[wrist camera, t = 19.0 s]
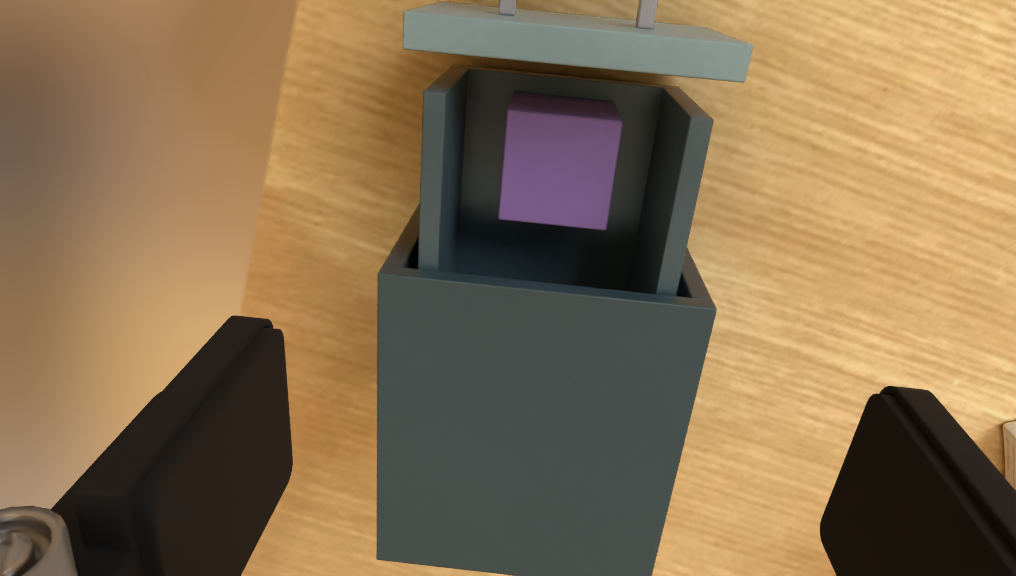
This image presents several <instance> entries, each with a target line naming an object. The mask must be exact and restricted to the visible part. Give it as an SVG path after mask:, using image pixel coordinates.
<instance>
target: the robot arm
mask: <svg viewBox="0 0 1016 576" xmlns="http://www.w3.org/2000/svg"><path fill="white" fill-rule="evenodd" d="M292 465H293V457H292V443H291V430H290V416H289V402H288V388H287V374H286V361H285V347H284V336H283V333H282V331H281V330H280V329H273V325H272V322H271V321H270V320H269V319H263V318H254V317H244V316H231V317H230V318H229V319H228V320H227V321H226V322H225V323H224V324H223V325H222V326H221V327H220V329H219V330H218V331H217V332H216V333H215V334H214V335H213V336H212V337H211V338H210V339H209V341H208V342H207V343H206V344H205V345H204V346H203V347H202V348H201V349H200V350H199V352H198V353H197V354H196V355H195V356H194V357H193V358H192V359H191V360H190V361H189V362H188V364H187V365H186V366H185V367H184V368H183V369H182V370H181V371H180V372H179V374H177V376H176V377H175V378H174V379H173V380H172V381H171V382H170V383H169V384H168V386H167V387H166V388H165V389H164V390H163V391H162V392H160V393H159V394H157V395H156V396H155V397H154V398H153V399H152V400H151V401H150V402H149V403H148V404H147V405H146V406H145V407H144V408H143V410H142V411H141V412H140V413H139V414H138V415H137V416H136V417H135V418H134V419H133V420H132V422H131V423H130V424H129V425H128V426H127V427H126V428H125V429H124V430H123V431H122V432H121V433H120V435H119V436H118V437H117V438H116V439H115V440H114V441H113V442H112V443H111V444H110V446H108V448H107V449H106V450H105V451H104V452H103V453H102V454H101V455H100V456H99V457H98V458H97V460H96V461H95V462H94V463H93V464H92V465H91V466H90V467H89V468H88V469H87V471H86V472H85V473H84V474H83V475H82V476H81V477H80V478H79V479H78V480H77V481H76V482H75V484H74V485H73V486H72V487H71V488H70V489H69V490H68V491H67V492H66V493H65V494H64V495H63V497H62V498H61V499H60V500H59V501H58V502H57V503H56V504H55V505H54V506H53V507H52V509H51V510H50V509H46V508H41V507H35V506H22V507H10V508H5V509H1V510H0V576H241V574H242V572H243V570H244V568H245V566H246V564H247V562H248V560H249V558H250V556H251V554H252V552H253V551H254V549H255V547H256V545H257V543H258V541H259V539H260V537H261V535H262V533H263V531H264V529H265V527H266V525H267V523H268V521H269V519H270V517H271V515H272V514H273V512H274V510H275V508H276V506H277V504H278V502H279V500H280V498H281V496H282V494H283V492H284V490H285V488H286V486H287V484H288V482H289V479H290V476H291V472H292ZM820 536H821V541H822V544H823V546H824V549H825V551H826V553H827V555H828V558H829V560H830V562H831V564H832V566H833V569H834V571H835V573H836V575H837V576H1016V490H1015V489H1014V488H1013V487H1012V486H1011V484H1010V483H1009V482H1008V481H1007V480H1006V479H1005V477H1004V476H1003V475H1002V474H1001V473H1000V472H999V470H998V469H997V468H996V467H995V466H994V465H993V463H992V462H991V461H990V460H989V459H988V458H987V456H986V455H985V454H984V453H983V452H982V451H981V449H980V448H979V447H978V446H977V445H976V444H975V442H974V441H973V440H972V439H971V438H970V437H969V435H968V434H967V433H966V432H965V431H964V430H963V428H962V427H961V426H960V425H959V424H958V423H957V421H956V420H955V419H954V418H953V417H952V416H951V414H950V413H949V412H948V411H947V410H946V409H945V407H944V406H943V405H942V404H941V403H940V402H939V401H938V399H937V398H936V397H935V396H934V395H933V394H932V393H931V392H930V391H928V390H923V389H914V388H905V387H895V386H888V387H885V388H884V389H883V390H882V391H881V392H880V394H873V395H872V396H871V397H870V398H869V400H868V401H867V404H866V406H865V409H864V411H863V414H862V417H861V419H860V422H859V424H858V427H857V429H856V432H855V434H854V437H853V440H852V442H851V445H850V447H849V450H848V452H847V455H846V457H845V460H844V463H843V465H842V468H841V470H840V473H839V475H838V478H837V481H836V483H835V486H834V488H833V491H832V493H831V496H830V498H829V501H828V504H827V506H826V509H825V511H824V514H823V516H822V519H821V523H820Z"/></svg>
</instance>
